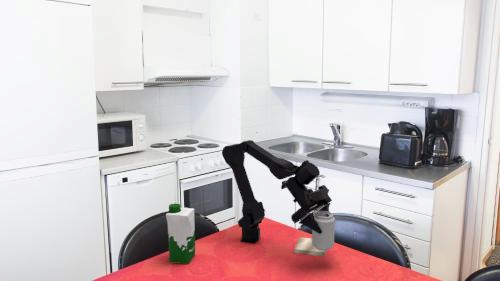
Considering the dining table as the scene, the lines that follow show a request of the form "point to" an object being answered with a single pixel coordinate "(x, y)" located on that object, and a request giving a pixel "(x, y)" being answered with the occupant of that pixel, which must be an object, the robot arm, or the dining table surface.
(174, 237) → the milk carton
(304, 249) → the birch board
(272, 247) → the dining table surface
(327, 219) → the can
